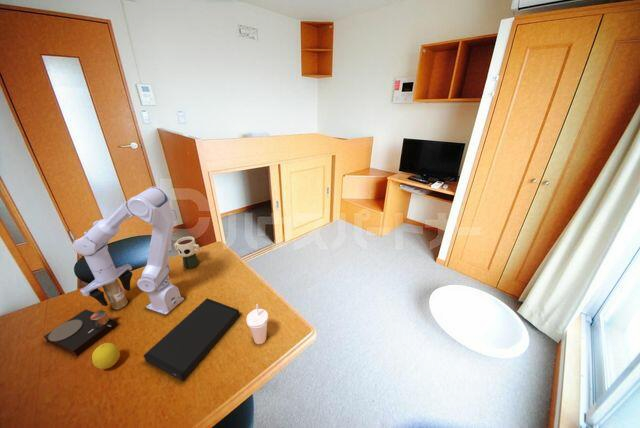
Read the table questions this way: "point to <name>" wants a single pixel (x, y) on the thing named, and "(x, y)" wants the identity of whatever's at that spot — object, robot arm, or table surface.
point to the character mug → (188, 251)
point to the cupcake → (99, 319)
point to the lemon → (105, 355)
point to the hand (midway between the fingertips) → (116, 297)
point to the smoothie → (258, 324)
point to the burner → (65, 330)
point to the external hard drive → (192, 339)
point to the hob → (83, 334)
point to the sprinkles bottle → (115, 294)
